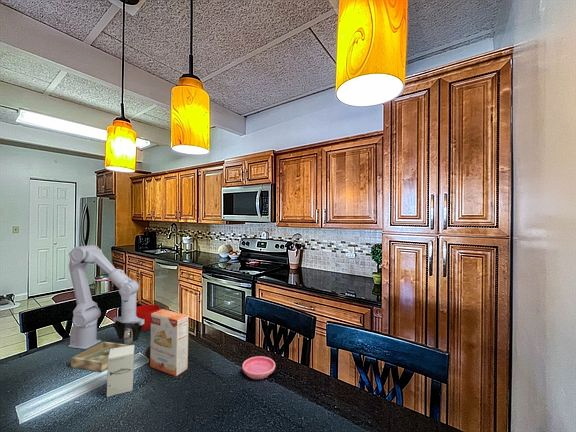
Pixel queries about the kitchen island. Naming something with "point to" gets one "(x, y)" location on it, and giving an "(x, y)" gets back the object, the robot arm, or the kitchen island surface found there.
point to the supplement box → (120, 370)
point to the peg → (128, 336)
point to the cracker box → (169, 342)
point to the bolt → (148, 352)
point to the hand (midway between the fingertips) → (128, 339)
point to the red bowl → (146, 314)
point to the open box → (94, 357)
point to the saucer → (258, 367)
